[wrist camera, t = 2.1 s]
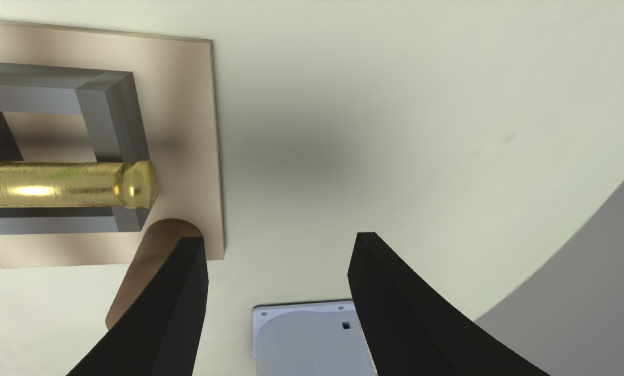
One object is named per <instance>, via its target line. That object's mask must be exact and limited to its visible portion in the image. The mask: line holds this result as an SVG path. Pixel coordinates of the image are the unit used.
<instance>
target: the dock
mask: <svg viewBox="0 0 624 376" xmlns="http://www.w3.org/2000/svg"><path fill="white" fill-rule="evenodd" d="M128 160H131V161H151V162H152V163H153V164H154V166H155V169H156V173H157V181H158V188H157V197H156V201H155V204H154V206H153V207H152V208H151V209H127V208H125V207H2V208H0V269H6V268H31V267H56V266H80V265H105V264H130V263H131V262H132V260H133V258H134V256H135V254H136V251H137V249H138V247H139V245H140V243H141V241H142V238H143V236H144V234H145V232H146V230H147V228H148V227H149V226H150V225H151V224H153V223H154V222H156V221H159V220H162V219H168V218H175V219H181V220H185V221H187V222H190V223H191V224H193V225H195V226H196V227H197V228H198V229H199V230H200V231H201V233H202V235H203V237H204V245H205V254H206V260H224V254H225V236H224V221H223V205H222V190H221V174H220V159H219V143H218V128H217V112H216V97H215V81H214V66H213V50H212V40H206V39H195V38H184V37H174V36H163V35H152V34H141V33H131V32H120V31H109V30H98V29H88V28H77V27H66V26H55V25H45V24H34V23H23V22H12V21H2V20H0V161H50V162H107V163H124V162H126V161H128Z"/></svg>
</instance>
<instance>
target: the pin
mask: <svg viewBox="0 0 624 376" xmlns="http://www.w3.org/2000/svg"><path fill="white" fill-rule="evenodd" d="M157 188H158V181H157V173H156V169H155V166H154V164H153V163H152V162H151V161H131V160H128V161H126V162H124V163H107V162H50V161H0V208H2V207H125V208H127V209H151V208H152V207H153V206H154V204H155V201H156V197H157Z"/></svg>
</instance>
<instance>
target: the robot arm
mask: <svg viewBox="0 0 624 376" xmlns="http://www.w3.org/2000/svg"><path fill="white" fill-rule="evenodd" d="M347 275H348V280H349V285H350V290H351V294H352V299H353V301H339V302H325V303H311V304H297V305H283V306H269V307H257V308H255V309H253V331H252V358H253V359H254V360H257V376H375V373H374V370H373V366H372V363H371V360H370V357H369V354H368V350H367V347H366V344H365V341H364V338H363V334H362V331H361V328H360V325H359V322H358V318H359V321H360V324H361V327H362V329H363V332H364V335H365V338H366V341H367V344H368V346H369V349H370V352H371V355H372V358H373V361H374V364H375V366H376V369H377V373H378V376H550V375H549V374H547V373H546V372H544V371H542V370H541V369H539V368H538V367H536V366H535V365H533V364H531V363H530V362H528V361H527V360H525V359H524V358H523V357H521V356H520V355H518V354H517V353H515V352H514V351H512V350H511V349H509V348H508V347H506V346H505V345H503V344H502V343H501V342H499V341H497V340H496V339H495V338H494V337H492V336H491V335H489V334H488V333H487V332H485V331H484V330H483V329H481V328H480V327H479V326H478V325H476V324H475V323H474V322H472V321H471V320H470V319H468V318H467V317H466V316H464V315H463V314H462V313H461V312H460V311H458V310H457V309H456V308H455V307H453V306H452V305H451V304H450V303H449V302H448V301H446V300H445V299H444V298H443V297H442V296H441V295H440V294H438V293H437V292H436V291H435V290H434V289H433V288H432V287H430V286H429V285H428V284H427V283H426V282H425V281H424V280H423V279H422V278H421V277H420V276H419V275H418V274H417V273H415V272H414V271H413V270H412V269H411V268H410V267H409V266H408V265H407V264H406V263H405V262H404V261H403V260H402V259H401V258H400V257H399V256H398V255H397V254H396V253H395V252H394V251H393V250H392V249H391V248H390V247H389V246H388V245H387V244H386V243H385V242H384V241H383V240H382V239H381V238H380V237H379V236H378V235H377V234H376V233H375V232H358V233H357V237H356V241H355V245H354V249H353V253H352V257H351V261H350V265H349V270H348V274H347ZM208 284H209V280H208V271H207V262H206V254H205V245H204V237H182V238H181V239H180V240H179V241H178V242H177V244H176V245H175V247H174V248H173V250H172V251H171V253H170V254H169V256H168V257H167V259H166V260H165V262H164V263H163V264H162V266H161V267H160V268H159V270H158V271H157V273H156V274H155V275H154V277H153V278H152V279H151V280H150V282H149V283H148V284H147V286H146V287H145V288H144V290H143V291H142V292H141V293H140V295H139V296H138V297H137V298H136V300H135V301H134V302H133V303H132V304H131V306H130V307H129V308H128V309H127V310H126V311H125V313H124V314H123V315H122V316H121V317H120V319H119V320H118V321H117V322H116V323H115V324H114V326H113V327H112V328H111V329H110V330H109V331H108V332H107V333H106V335H105V336H104V337H103V338H102V339H101V340H100V341H99V342H98V343H97V344H96V345H95V346H94V348H93V349H92V350H91V351H90V352H89V353H88V354H87V355H86V356H85V357H84V358H83V359H82V360H81V361H80V362H79V363H78V364H77V365H76V366H75V367H74V368H73V369H72V370H71V371H70V372H69V373H68V374H67V375H66V376H192V373H193V368H194V364H195V359H196V355H197V350H198V345H199V341H200V336H201V332H202V327H203V322H204V318H205V312H206V303H207V294H208ZM355 309H356V312H357V315H358V318H357V315H356V312H355Z"/></svg>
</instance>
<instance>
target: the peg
mask: <svg viewBox="0 0 624 376" xmlns="http://www.w3.org/2000/svg"><path fill="white" fill-rule="evenodd" d="M182 237H203V235H202V233H201V231H200V230H199V229H198V228H197V227H196V226H195V225H193V224H191V223H190V222H187V221H185V220H181V219H175V218H168V219H162V220H159V221H156V222H154V223H153V224H151V225H150V226H149V227H148V228H147V230H146V232H145V234H144V236H143V238H142V241H141V243H140V245H139V247H138V249H137V251H136V254H135V256H134V258H133V260H132V262H131V264H130V267H129V269H128V271H127V273H126V275H125V277H124V280H123V282H122V284H121V286H120V288H119V290H118V293H117V295H116V297H115V299H114V301H113V303H112V306H111V308H110V310H109V312H108V314H107V316H106V320H105V322H106V326H107V328H108V330H110V329H111V328H112V327H113V326H114V324H115V323H116V322H117V321H118V320H119V319H120V317H121V316H122V315H123V314H124V313H125V311H126V310H127V309H128V308H129V307H130V306H131V304H132V303H133V302H134V301H135V300H136V298H137V297H138V296H139V295H140V293H141V292H142V291H143V290H144V288H145V287H146V286H147V284H148V283H149V282H150V280H151V279H152V278H153V277H154V275H155V274H156V273H157V271H158V270H159V268H160V267H161V266H162V264H163V263H164V262H165V260H166V259H167V257H168V256H169V254H170V253H171V251H172V250H173V248H174V247H175V245H176V244H177V242H178V241H179V240H180V239H181V238H182Z"/></svg>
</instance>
